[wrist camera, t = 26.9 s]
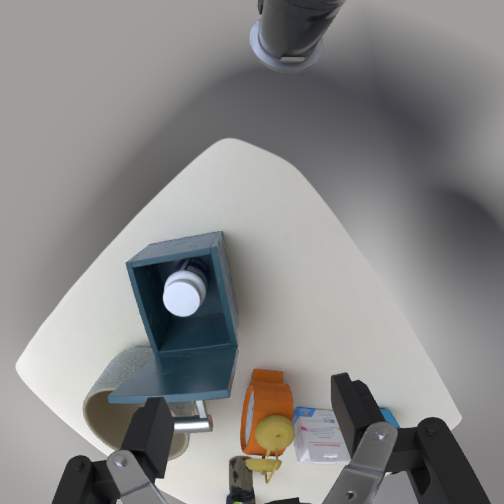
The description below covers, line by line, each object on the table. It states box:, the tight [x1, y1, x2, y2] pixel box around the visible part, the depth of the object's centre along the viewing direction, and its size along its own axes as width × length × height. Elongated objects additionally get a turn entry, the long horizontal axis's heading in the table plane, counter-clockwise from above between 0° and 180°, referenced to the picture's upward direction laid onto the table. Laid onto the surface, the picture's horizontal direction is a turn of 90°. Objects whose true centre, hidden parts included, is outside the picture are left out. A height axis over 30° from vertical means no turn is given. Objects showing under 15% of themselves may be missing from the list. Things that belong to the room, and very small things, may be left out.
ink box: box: [292, 407, 351, 464], centre depth 47 cm, size 8×5×15 cm, turn 75°
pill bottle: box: [163, 258, 210, 317], centre depth 41 cm, size 6×6×10 cm
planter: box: [83, 347, 194, 461], centre depth 43 cm, size 17×17×15 cm
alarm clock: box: [240, 369, 295, 483], centre depth 42 cm, size 13×6×20 cm, turn 169°
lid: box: [107, 347, 239, 434], centre depth 30 cm, size 14×12×5 cm
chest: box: [126, 231, 238, 356], centre depth 41 cm, size 14×12×11 cm
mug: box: [229, 456, 256, 504], centre depth 52 cm, size 8×6×12 cm
